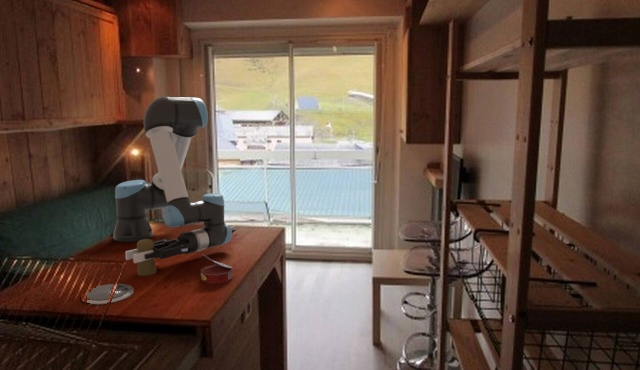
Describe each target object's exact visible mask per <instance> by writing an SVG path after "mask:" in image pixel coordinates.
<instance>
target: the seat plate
mask: <svg viewBox="0 0 640 370" xmlns="http://www.w3.org/2000/svg"><path fill="white" fill-rule="evenodd" d="M114 284H115V283H110V284H109V283H108V284H104V285H99V286H95V287H96V288H94V287H92V288H93V289H92V288H91V289H92V290H91V292H88V293H87V294H86V296H87V298H88V299H90V300H87V303H90V304H89V305H93V304H94V305H96V306H97V305H106V304H107V302H108V299H109V297H110V294H111V291H112V288H113V286H114ZM117 284H118V286H117V288H116V291H115V293H114V295H113V298H112V301H111V303H110V304H114V303H117V302H121V301H124V300H126V299H128V298H129V297H132V295H133V294H134V292H135V291H134V287H133V286H131V285H129V284H125V283H117ZM107 305H108V304H107Z"/></svg>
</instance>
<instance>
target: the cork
mask: <svg viewBox="0 0 640 370" xmlns="http://www.w3.org/2000/svg"><path fill="white" fill-rule="evenodd" d="M153 242H154V241H153V240H152V239H151V238H149V239H143V240H140V241H137V244H136V249H138V250H139V253H141V252H145V251H150V250H152V249H153V247H154V243H153ZM156 273H157V266H156V261H155V257H154V258H153V259H149V260H145V261H142V262H138V263H137V268H136V274H137V276H141V277H142V276H143V277H146V276H147V277H148V276H152V275H154V274H156Z"/></svg>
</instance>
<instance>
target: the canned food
mask: <svg viewBox="0 0 640 370" xmlns="http://www.w3.org/2000/svg"><path fill="white" fill-rule="evenodd" d="M201 255H203V256H204V257H205V258H206V259H208V260H210V261H212V262H213V263H215V264H210V265H207V266H203V267H202V268H201V269H200V279H201V282H203V283H206V284H223V283H227V282H229V281H231V280H232V279H233V276H234V275H233V266H231V265H229V264H225V263H223V262H219V261H215V260H213V259H210V258H209V257H208V256H207V255H205V254H204V253H202V254H201Z"/></svg>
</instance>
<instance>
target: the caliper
mask: <svg viewBox="0 0 640 370" xmlns="http://www.w3.org/2000/svg"><path fill="white" fill-rule="evenodd" d="M229 227H230V228H231V231H232V232H233V231H235V230H237V228H238V227H237V225H233V226H229Z"/></svg>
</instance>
